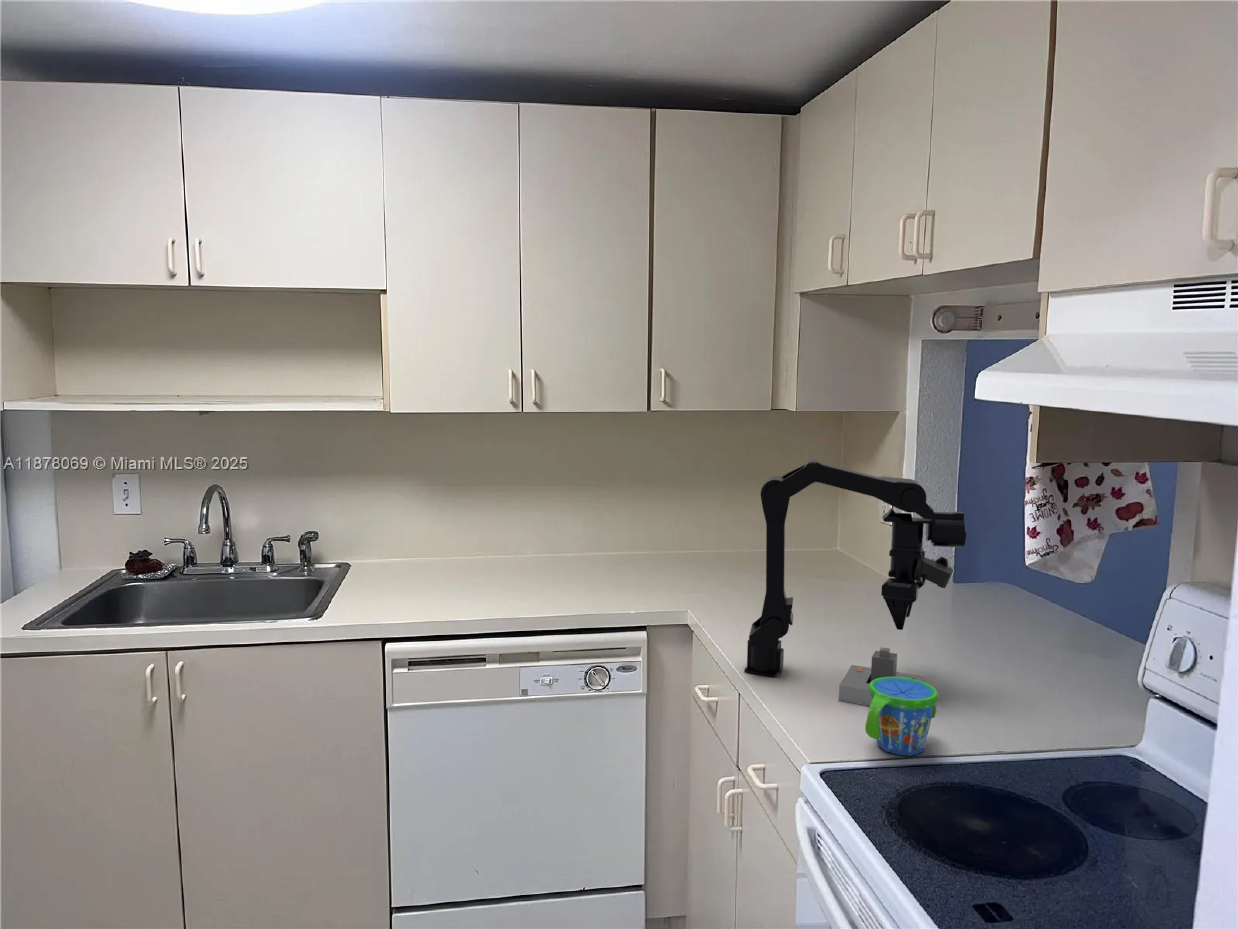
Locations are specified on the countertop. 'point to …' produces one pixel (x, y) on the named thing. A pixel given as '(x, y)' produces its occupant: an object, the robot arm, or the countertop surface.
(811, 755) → the countertop surface
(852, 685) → the socket plate
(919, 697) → the snack cup
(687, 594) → the countertop surface
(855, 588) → the countertop surface
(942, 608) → the countertop surface
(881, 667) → the plug
